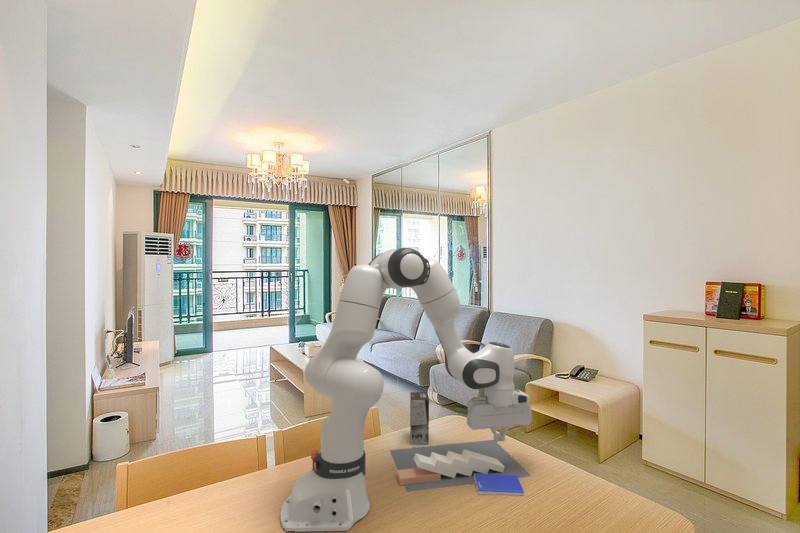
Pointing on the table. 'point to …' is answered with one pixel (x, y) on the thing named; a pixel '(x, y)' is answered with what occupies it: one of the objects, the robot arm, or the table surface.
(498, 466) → the domino
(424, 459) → the domino
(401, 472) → the tile
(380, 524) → the table surface
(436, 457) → the domino
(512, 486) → the hard drive
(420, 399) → the coffee box
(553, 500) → the table surface
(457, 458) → the domino
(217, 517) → the table surface
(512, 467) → the mat
